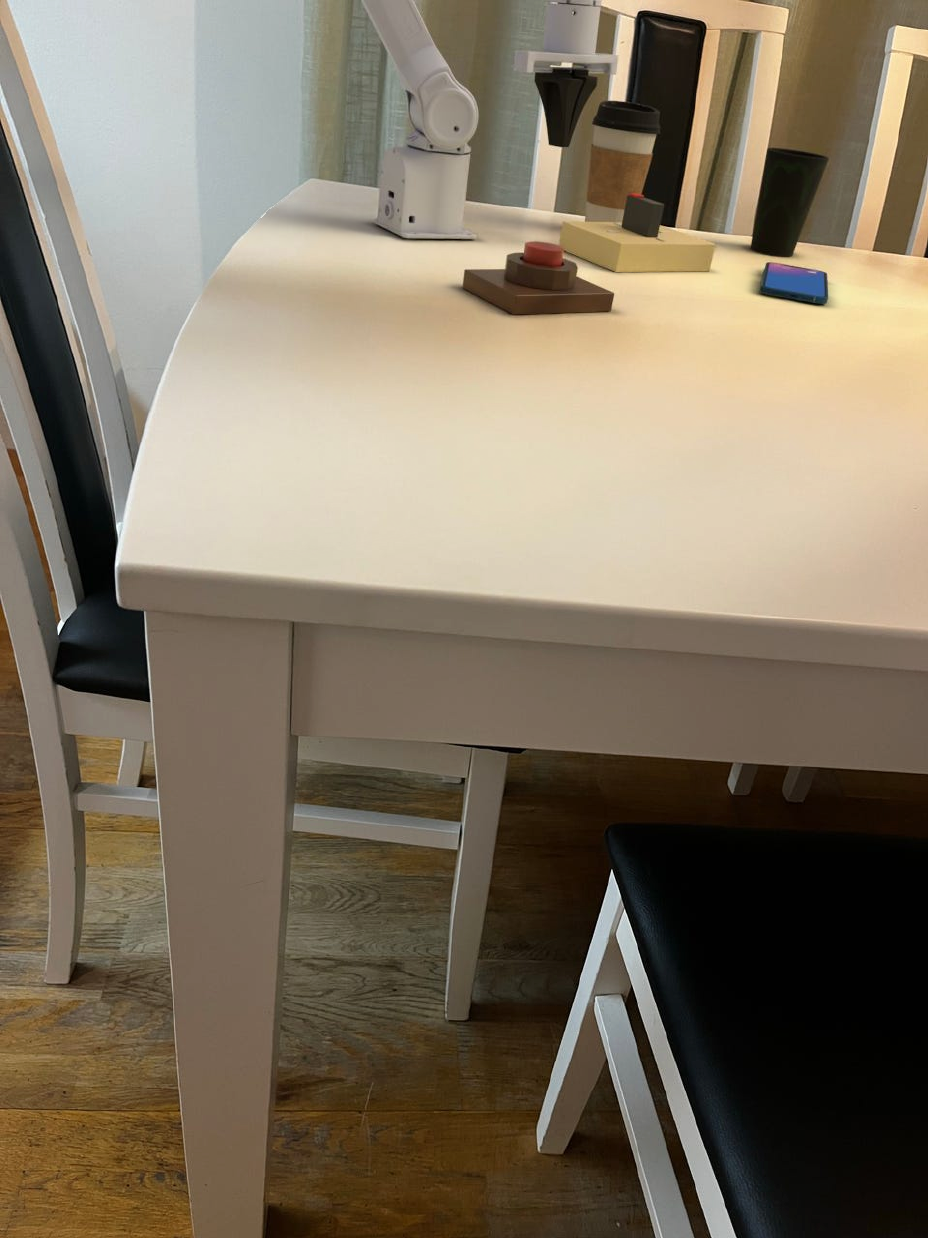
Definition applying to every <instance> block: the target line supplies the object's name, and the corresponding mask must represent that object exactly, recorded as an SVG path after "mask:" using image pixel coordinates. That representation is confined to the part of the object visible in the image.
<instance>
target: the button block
mask: <svg viewBox="0 0 928 1238" xmlns="http://www.w3.org/2000/svg"><path fill="white" fill-rule="evenodd" d="M523 254H524V252H512V253H509V254H506V260H505V265H504V268H483V269H482V268H480V269H478V268H476V269H475V268H473V269H471V268H470V269H467V268H466V269H463V270H464V272H463V279H462V289H464V290H465V291H468V292H470V293H472V294H473V295H475V296H478V297H479V298H481V299H482V300H485V301H486V302H488V303H490V304H493V305H494V306H496V307H498V308H500V309H501V310H504V311H506V312H508V313H510V314H511V315H513V316H515V315H518V316H519V315H541V314H542V315H545V314H546V315H548V314H570V313H571V314H572V313H573V314H574V313H575V314H576V313H600V312H611V311H612V307H613V302H614V298H615V292H613V291H610V290H609V289H607V288H604V287H602V286H600V285H597V284H595V283H593V282H591V281H588V280H586V279H583V278H581V277H579V276H578V271H579V270H578V269H579V268H578V267H579V266H578V265H577V263H576V262H574V261H571V260H569V259H567V258H564V257H563V258H562V265H561V267H548V266H540V265H534V264H530V263H526V262H524V261H523Z"/></svg>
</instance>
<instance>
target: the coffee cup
mask: <svg viewBox="0 0 928 1238" xmlns="http://www.w3.org/2000/svg"><path fill="white" fill-rule="evenodd" d="M660 113H661V112H660V111H659V110H658V109H657V108H655V107H653V106H650V105H646V104H642V103H636V102H629V101H621V100H604V101H601V102H600V103H599V105H598V107H597V111H596V115H595V116H594V117H593V118H592V119H593V120H592V123H591V124H592V125H593V126H594V131H593V141H592V143H591V144H590V155H589V165H588V166H589V168H588V179H587V191H586V206H585V214H584V215H585V217H584V222H621V223H622V220H623V215H624V210H625V205H626V199H627V195H629V194H630V193H637V194H641V195H643V194H642V193H643V190H644V187H645V183H646V179H647V177H648V173H649V169H650V166H651V162H652V158H653V156H654V153H653V149H654V145H655V141H656V138H657V135H660V134H661V126H660Z"/></svg>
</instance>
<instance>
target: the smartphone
mask: <svg viewBox="0 0 928 1238" xmlns="http://www.w3.org/2000/svg"><path fill="white" fill-rule="evenodd" d="M764 265H765V266H764V269H763V271H762V278H761V283H760V287H759V292H761V293H762V294H766V295H768V296H775V297H781V298H786V299H791V300H797V301H801V302H802V301H803V302H807V303H813V304H819V305H826V304H827V303H828V300H829V281H828V273H827V272H825V271H822V270H818V269H814V268H813V269H812V268H807V267H803V266H802V267H801V266H795V265H791V264H784V263H779V262H772V261H769V262H766V263H765V264H764Z"/></svg>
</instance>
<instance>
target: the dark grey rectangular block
mask: <svg viewBox="0 0 928 1238" xmlns="http://www.w3.org/2000/svg"><path fill="white" fill-rule="evenodd" d="M664 208H665V203H662V202H658V201H655V200H653V199H649V198H648V197H645V196H644V194H637V193H630V194H629V195H627V199H626V205H625V210H624V215H623V220H622V225H621V227H622V228H625V229H627V230H630V231H633V232H635V233H638V234H640V235H643V236H646V237H658V233H659V228H660V225H661V222H662V217H663V213H664Z"/></svg>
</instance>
